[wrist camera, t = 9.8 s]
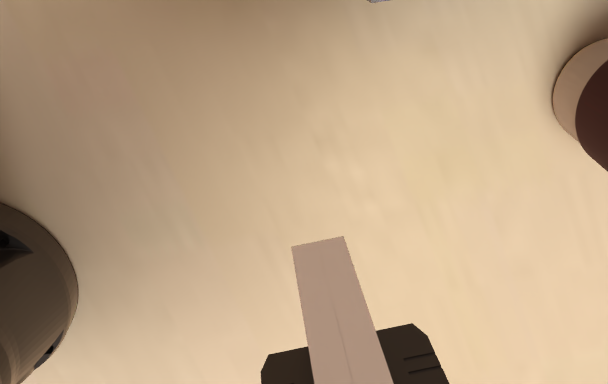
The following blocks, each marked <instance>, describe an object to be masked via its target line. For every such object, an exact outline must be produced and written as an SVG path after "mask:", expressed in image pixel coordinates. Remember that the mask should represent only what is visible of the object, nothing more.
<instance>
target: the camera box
mask: <svg viewBox="0 0 608 384" xmlns="http://www.w3.org/2000/svg"><path fill="white" fill-rule="evenodd" d="M368 1H369V2H370V3H375V2H382V1H389V0H368Z"/></svg>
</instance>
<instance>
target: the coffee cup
mask: <svg viewBox="0 0 608 384" xmlns="http://www.w3.org/2000/svg"><path fill="white" fill-rule="evenodd" d="M553 108H554V112H555V116H556V118H557V120H558V122H559V123H560V125H561V126H562V128H563V129H564V130H565V131H566V132H568V133H569V134H570V135H571V136H572V137H573V138H575V139H576V140H577V141H578V142H579V143H580V144H581V146H582V147H583V149H584V150H585V151H586V153H587V154H588V155H589V156H590V157H592V158H593V159H594V160H595V161H596V162H597V163H598V164H600V165H601V166H602V167H603V168H604V169H605V170H606V171H608V39H603V40H599V41H597V42H594V43H592V44H590V45H588V46H586V47H585V48H583V49H582V50H580V51H579V52H578V53H577V54H575V55H574V56H573V57H572V58H571V59H570V61H569V62H568V63H567V64H566V65H565V67H564V68H563V70H562V71H561V73H560V75H559V77H558V79H557V82H556V85H555V88H554V93H553Z"/></svg>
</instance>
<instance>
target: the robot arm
mask: <svg viewBox="0 0 608 384" xmlns="http://www.w3.org/2000/svg"><path fill="white" fill-rule="evenodd" d="M291 248H292V254H293V260H294V265H295V271H296V277H297V283H298V289H299V295H300V301H301V307H302V313H303V319H304V325H305V331H306V337H307V342H308V347H303V348H298V349H294V350H289V351H284V352H279V353H275V354H270V355H268V357H267V359H266V362H265V364H264V366H263V368H262V370H261V384H449V382H448V380H447V378H446V375H445V373H444V371H443V369H442V368H441V365H440V362H439V360H438V358H437V356H436V355H435V352H434V349H433V347H432V345H431V343H430V341H429V339H428V336H427V335H426V334H425V333H423V332H422V331H421V330H420V329H418V328H417V327H416V326H415V325H414V324H412V323H411V324H407V325H402V326H397V327H392V328H388V329H383V330H378V331H375V328H374V325H373V322H372V319H371V316H370V313H369V310H368V307H367V304H366V301H365V298H364V295H363V292H362V289H361V286H360V284H359V281H358V278H357V275H356V272H355V269H354V266H353V263H352V260H351V257H350V254H349V251H348V248H347V245H346V242H345V239H344V237H343V236H341V237H336V238H332V239H327V240H322V241H317V242H312V243H307V244H302V245H297V246H293V247H291ZM77 301H78V287H77V281H76V276H75V273H74V270H73V268H72V265H71V263H70V261H69V259H68V257H67V256H66V254H65V252H64V251H63V249H62V248H61V247H60V245H59V244H58V243H57V242H56V240H55V239H54V238H53V237H52V236H51V235H50V234H49V233H48V232H47V231H46V230H45V229H44V228H42V227H41V226H40V225H39V224H37V223H36V222H35V221H33V220H32V219H30V218H29V217H27V216H26V215H24V214H22V213H20V212H19V211H17V210H15V209H13V208H10V207H8V206H6V205H3V204H1V203H0V384H20V383H22V382H23V381H24V380H25V379H26V378H27V377H28V376H29V375H30V374H31V373H32V372H33V371H34V370H35V369H36V368H38V367H39V366H40V365H41V364H43V363H44V362H45V361H46V360H47V359H48V358H49V357H50V356H51V355H52V354H53V353H54V352H55V351H56V349H57V348H58V347H59V345H60V344H61V342H62V341H63V339H64V337H65V335H66V333H67V331H68V328H69V326H70V324H71V322H72V320H73V317H74V314H75V311H76V307H77Z"/></svg>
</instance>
